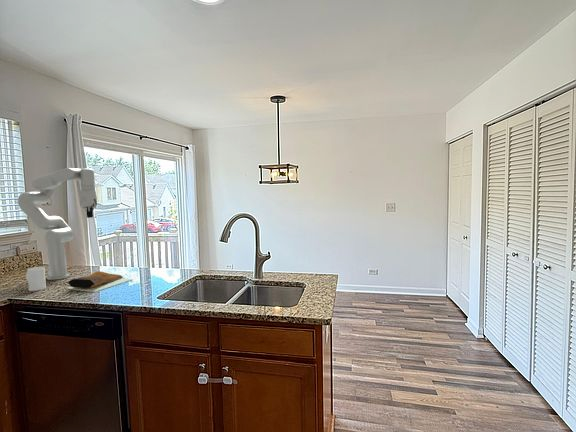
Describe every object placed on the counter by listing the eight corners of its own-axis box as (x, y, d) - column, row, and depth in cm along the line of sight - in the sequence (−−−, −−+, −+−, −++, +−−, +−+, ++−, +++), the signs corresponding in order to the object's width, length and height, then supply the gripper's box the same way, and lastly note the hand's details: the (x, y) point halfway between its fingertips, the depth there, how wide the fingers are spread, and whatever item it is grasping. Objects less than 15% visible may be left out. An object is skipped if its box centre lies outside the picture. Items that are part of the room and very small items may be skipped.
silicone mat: (66, 288, 198) (66, 287, 198) (106, 277, 223) (106, 276, 223) (94, 292, 190) (94, 291, 190) (132, 279, 215) (132, 279, 215)
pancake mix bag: (97, 277, 193) (124, 272, 221) (65, 275, 195) (96, 270, 222) (96, 289, 193) (124, 282, 221) (64, 287, 194) (95, 281, 222)
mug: (20, 289, 197) (19, 269, 196) (36, 285, 205) (34, 265, 204) (35, 291, 193) (33, 270, 192) (50, 287, 201) (48, 267, 200)
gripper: (74, 188, 215) (75, 217, 217) (91, 188, 210) (93, 218, 212) (84, 188, 222) (86, 216, 224) (102, 188, 217) (103, 217, 219)
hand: (89, 217), depth 218 cm, fingers closed
